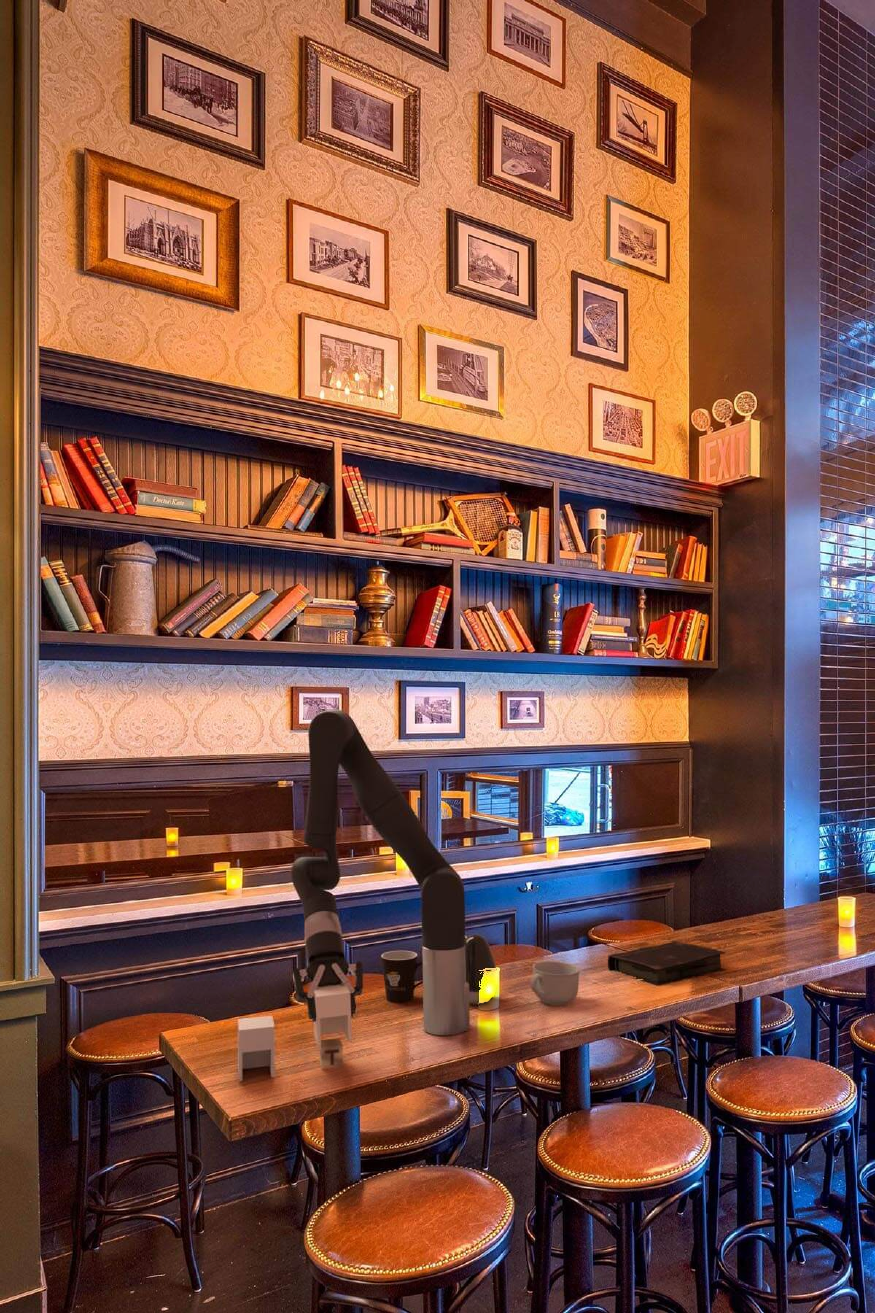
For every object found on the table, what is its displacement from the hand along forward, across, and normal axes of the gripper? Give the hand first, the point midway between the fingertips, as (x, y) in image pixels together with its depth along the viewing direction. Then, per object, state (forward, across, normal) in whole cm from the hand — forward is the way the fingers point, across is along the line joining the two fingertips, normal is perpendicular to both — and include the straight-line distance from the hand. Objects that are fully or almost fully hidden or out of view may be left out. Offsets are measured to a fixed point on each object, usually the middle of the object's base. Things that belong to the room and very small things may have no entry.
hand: (333, 1017), depth 162 cm
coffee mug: (-18, +21, +32) cm, 43 cm away
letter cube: (+5, 0, +8) cm, 9 cm away
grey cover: (+5, -14, +7) cm, 17 cm away
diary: (-19, +92, +36) cm, 101 cm away
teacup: (-9, +53, +24) cm, 59 cm away
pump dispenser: (-14, +37, +28) cm, 49 cm away
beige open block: (+2, 0, +4) cm, 5 cm away
